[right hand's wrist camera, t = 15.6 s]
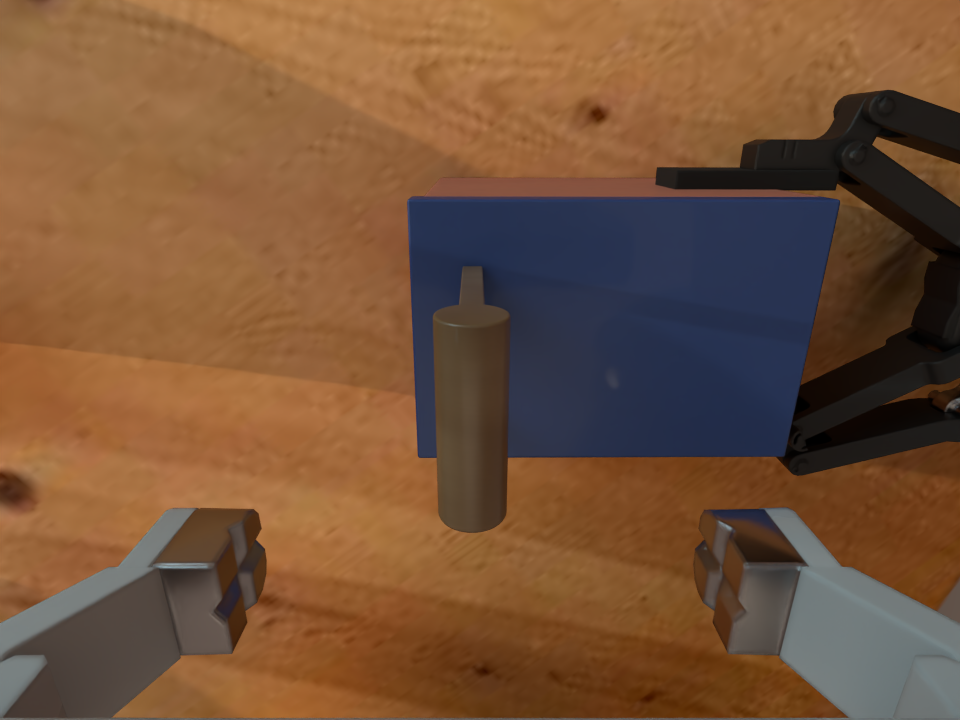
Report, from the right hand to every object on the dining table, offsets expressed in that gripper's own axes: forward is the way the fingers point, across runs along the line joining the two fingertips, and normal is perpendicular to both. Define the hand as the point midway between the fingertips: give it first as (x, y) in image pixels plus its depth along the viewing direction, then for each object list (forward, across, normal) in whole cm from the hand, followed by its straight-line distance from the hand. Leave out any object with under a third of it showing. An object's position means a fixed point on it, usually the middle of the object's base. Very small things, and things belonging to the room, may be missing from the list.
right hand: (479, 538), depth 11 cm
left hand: (+17, +8, 0) cm, 18 cm away
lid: (+12, +5, 0) cm, 13 cm away
